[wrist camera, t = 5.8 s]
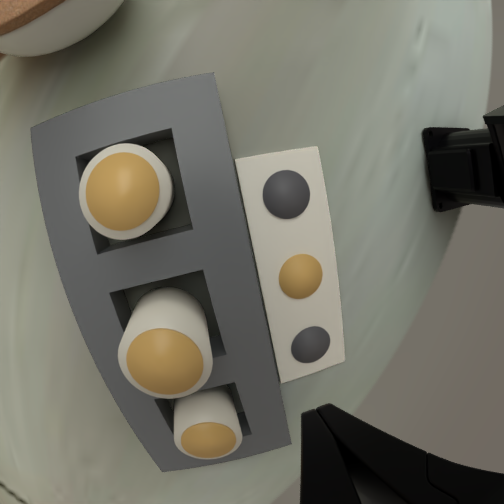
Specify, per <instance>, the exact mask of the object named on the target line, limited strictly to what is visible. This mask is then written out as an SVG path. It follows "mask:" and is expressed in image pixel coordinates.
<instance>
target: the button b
mask: <svg viewBox="0 0 504 504" xmlns="http://www.w3.org/2000/svg"><path fill="white" fill-rule="evenodd" d="M118 361H119V365H120V368H121V370H122V372H123V374H124V376H125V377H126V378H127V380H128V381H129V382H130V383H131V384H132V385H133V386H135V387H136V388H137V389H139V390H140V391H142V392H144V393H146V394H148V395H151V396H154V397H159V398H167V399H173V398H180V397H184V396H187V395H190V394H192V393H194V392H196V391H197V390H199V389H200V388H201V387H202V386H203V385H204V384H205V383H206V382H207V380H208V378H209V376H210V374H211V371H212V366H213V359H212V352H211V346H210V340H209V333H208V327H207V320H206V315H205V312H204V309H203V307H202V305H201V304H200V302H199V301H198V300H197V299H196V298H195V297H194V296H193V295H191V294H190V293H188V292H186V291H184V290H182V289H179V288H175V287H160V288H156V289H153V290H151V291H149V292H147V293H146V294H144V295H143V296H142V297H141V298H140V299H139V301H138V302H137V304H136V306H135V308H134V311H133V313H132V315H131V318H130V320H129V322H128V325H127V327H126V330H125V332H124V334H123V337H122V339H121V342H120V344H119V348H118Z"/></svg>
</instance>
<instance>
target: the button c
mask: <svg viewBox="0 0 504 504" xmlns="http://www.w3.org/2000/svg"><path fill="white" fill-rule="evenodd" d="M174 442H175V445H176V446H177V448H178V449H179V450H180V451H181V452H183V453H184V454H186V455H188V456H190V457H193V458H198V459H217V458H221V457H224V456H227V455H229V454H231V453H232V452H234V451H235V450H236V449H237V448H238V447H239V446H240V444H241V442H242V432H241V428H240V425H239V421H238V417H237V413H236V409H235V405H234V401H233V397H232V393H231V391H230V389H229V388H228V386H227V385H226V384H225V385H221V386H217V387H212V388H208V389H204V390H199V391H196V392H194V393H192V394H190V395H187V396H184V397H180V398H174Z"/></svg>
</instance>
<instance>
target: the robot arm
mask: <svg viewBox="0 0 504 504" xmlns="http://www.w3.org/2000/svg"><path fill="white" fill-rule="evenodd" d="M483 118H484V121H485V124H487V126H488V129H478V130H470V129H468V128H441V127H429V128H424V130H423V137H424V142H425V148H426V153H427V160H428V166H429V173H430V181H431V189H432V199H433V208H434V210H435V211H436V212H443V211H447V210H451V209H454V208H458V207H462V206H465V205H469V204H477V205H484V206H491V207H498V208H504V105H503V106H501V107H499V108H497V109H495V110H493V111H491V112H489V113H487V114H485V115H483ZM300 504H504V474H502V473H497V472H491V471H486V470H481V469H477V468H472V467H468V466H464V465H460V464H457V463H454V462H451V461H448V460H446V459H443V458H440V457H438V456H435V455H433V454H431V453H427V452H426V451H424V450H422V449H419V448H417V447H415V446H413V445H410V444H408V443H406V442H404V441H402V440H400V439H398V438H396V437H394V436H392V435H389V434H387V433H385V432H383V431H381V430H379V429H377V428H375V427H373V426H372V425H370V424H368V423H366V422H364V421H362V420H360V419H358V418H356V417H354V416H353V415H351V414H349V413H347V412H345V411H343V410H341V409H340V408H338V407H336V406H334V405H333V404H330V403H328V404H325V405H322V406H320V407H317V408H316V410H315V409H311V410H309V411H306V412H303V413H302V414H301V485H300Z"/></svg>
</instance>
